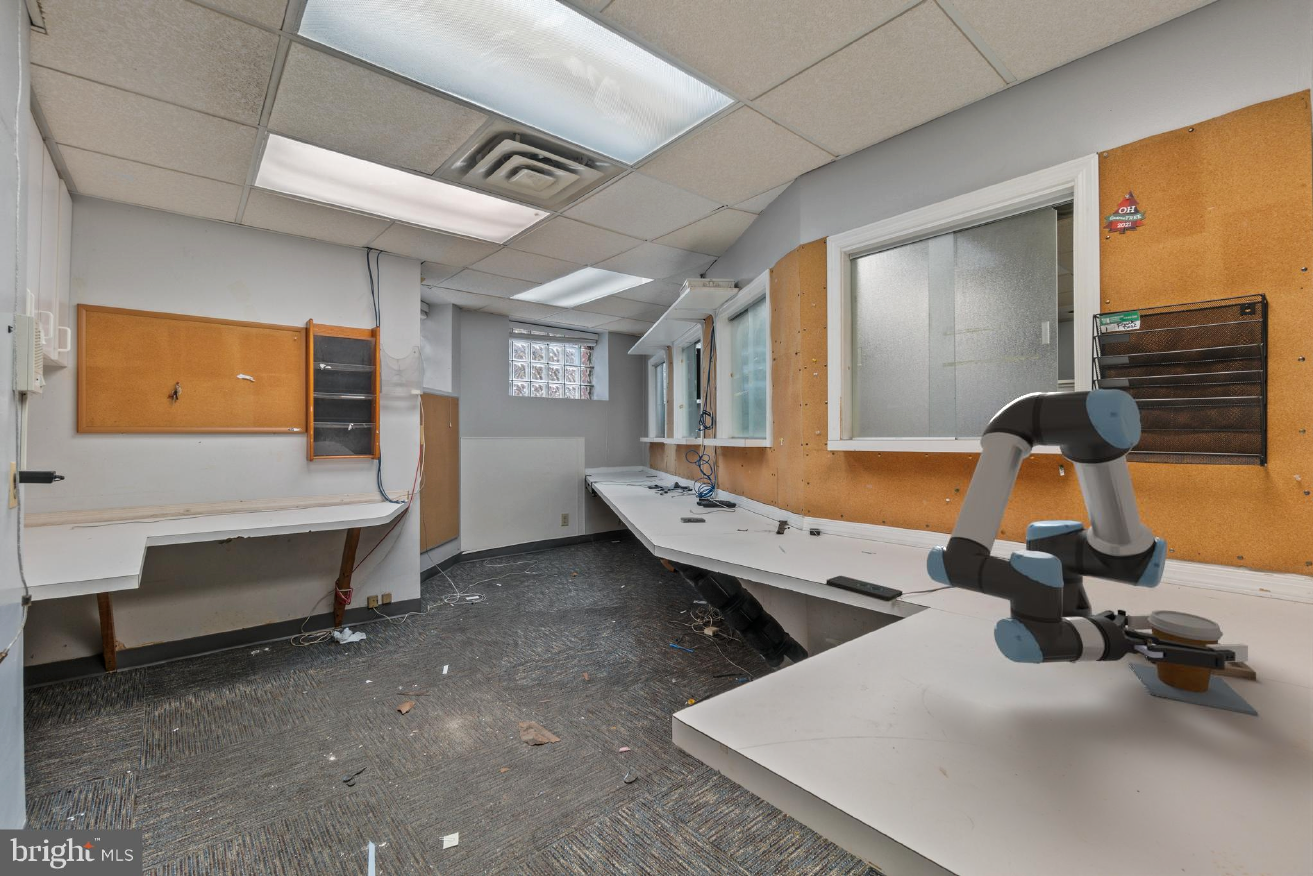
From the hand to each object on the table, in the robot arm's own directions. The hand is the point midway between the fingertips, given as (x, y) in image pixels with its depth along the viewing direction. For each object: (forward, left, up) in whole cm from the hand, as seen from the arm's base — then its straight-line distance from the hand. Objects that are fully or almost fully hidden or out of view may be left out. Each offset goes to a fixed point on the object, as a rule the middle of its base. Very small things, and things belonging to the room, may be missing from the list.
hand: (1200, 635), depth 92 cm
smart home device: (-62, +30, -10) cm, 70 cm away
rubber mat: (-2, -1, -10) cm, 10 cm away
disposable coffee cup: (-3, -1, -9) cm, 10 cm away
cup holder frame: (+3, +16, -10) cm, 19 cm away
